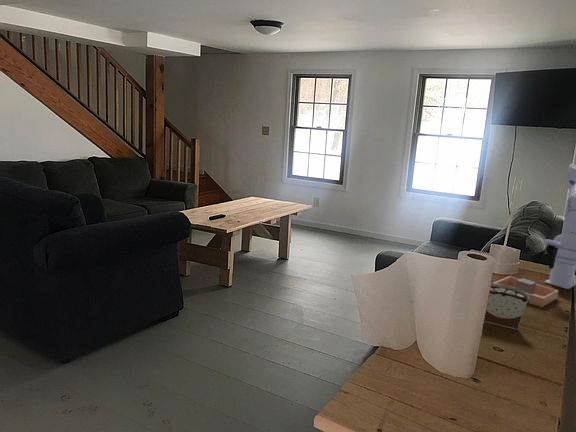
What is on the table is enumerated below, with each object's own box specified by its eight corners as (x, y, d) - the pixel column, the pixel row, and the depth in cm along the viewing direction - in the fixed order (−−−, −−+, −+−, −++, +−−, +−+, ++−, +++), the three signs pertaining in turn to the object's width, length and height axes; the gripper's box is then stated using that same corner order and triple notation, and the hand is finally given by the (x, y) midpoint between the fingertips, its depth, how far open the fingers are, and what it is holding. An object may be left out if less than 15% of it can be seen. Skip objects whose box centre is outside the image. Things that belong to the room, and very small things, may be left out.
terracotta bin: (508, 283, 168) (509, 276, 167) (556, 298, 157) (558, 290, 156) (491, 291, 158) (492, 282, 158) (541, 307, 147) (543, 298, 147)
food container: (523, 323, 133) (530, 290, 131) (524, 331, 128) (531, 296, 126) (477, 312, 138) (483, 280, 136) (475, 319, 133) (481, 286, 131)
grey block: (519, 290, 161) (522, 278, 160) (533, 295, 158) (536, 282, 157) (514, 293, 158) (516, 280, 157) (528, 297, 155) (531, 284, 154)
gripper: (544, 227, 155) (536, 267, 158) (594, 238, 145) (584, 280, 148) (551, 225, 160) (543, 264, 163) (600, 236, 150) (591, 276, 153)
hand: (563, 271), depth 156 cm, fingers open, 7 cm apart
